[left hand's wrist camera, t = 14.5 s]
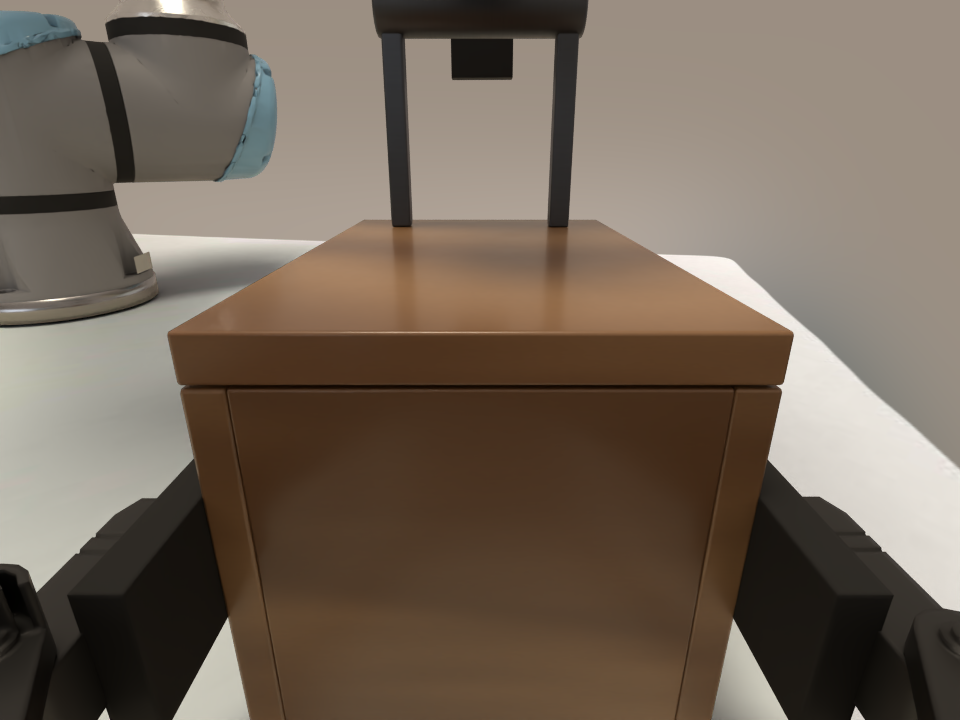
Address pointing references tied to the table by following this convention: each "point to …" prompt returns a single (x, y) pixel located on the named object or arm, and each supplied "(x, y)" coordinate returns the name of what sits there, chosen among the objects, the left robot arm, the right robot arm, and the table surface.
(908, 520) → the table surface
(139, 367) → the table surface
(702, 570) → the chest
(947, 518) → the table surface
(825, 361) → the table surface
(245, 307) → the lid
